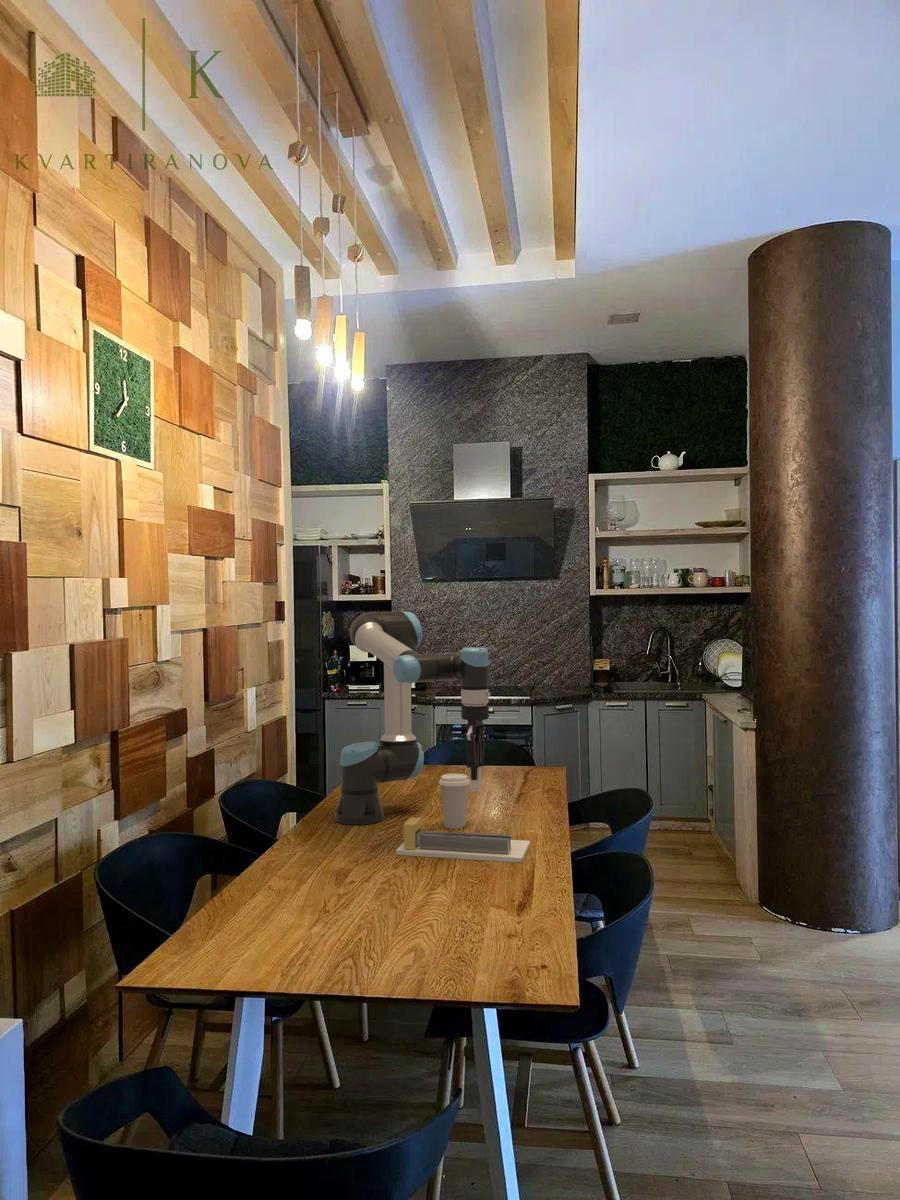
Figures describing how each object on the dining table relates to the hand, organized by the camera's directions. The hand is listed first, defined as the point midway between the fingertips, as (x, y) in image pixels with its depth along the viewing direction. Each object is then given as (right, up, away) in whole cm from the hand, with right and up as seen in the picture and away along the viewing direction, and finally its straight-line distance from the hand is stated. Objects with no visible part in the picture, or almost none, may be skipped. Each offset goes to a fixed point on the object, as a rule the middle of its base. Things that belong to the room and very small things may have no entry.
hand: (475, 791), depth 228 cm
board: (-3, -16, 0) cm, 16 cm away
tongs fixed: (-5, -15, -3) cm, 16 cm away
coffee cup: (-5, -16, +25) cm, 30 cm away
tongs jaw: (-3, -15, -2) cm, 15 cm away
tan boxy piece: (-17, -15, 0) cm, 22 cm away
